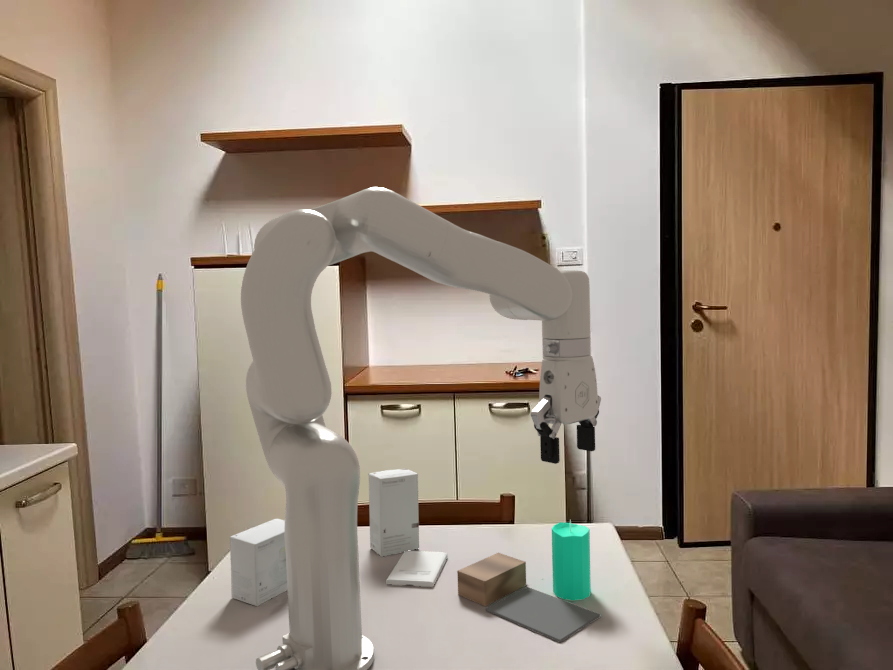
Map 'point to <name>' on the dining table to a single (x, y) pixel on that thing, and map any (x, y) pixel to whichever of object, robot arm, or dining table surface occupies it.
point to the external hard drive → (418, 568)
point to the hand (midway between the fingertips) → (568, 455)
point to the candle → (571, 561)
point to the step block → (491, 578)
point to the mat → (543, 613)
